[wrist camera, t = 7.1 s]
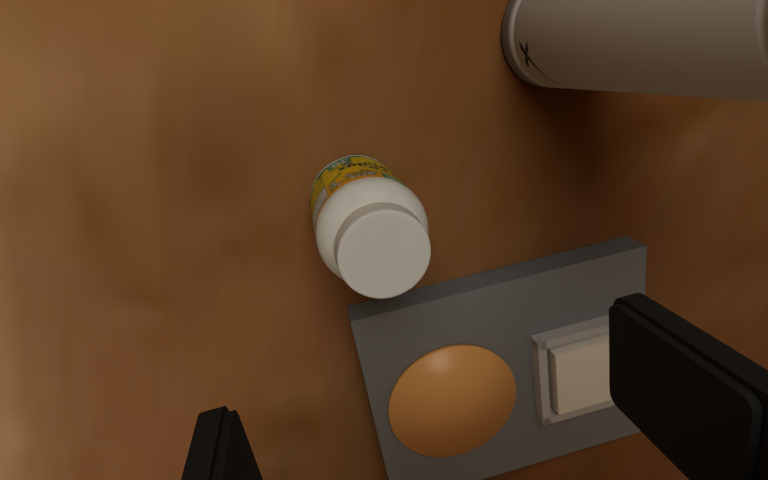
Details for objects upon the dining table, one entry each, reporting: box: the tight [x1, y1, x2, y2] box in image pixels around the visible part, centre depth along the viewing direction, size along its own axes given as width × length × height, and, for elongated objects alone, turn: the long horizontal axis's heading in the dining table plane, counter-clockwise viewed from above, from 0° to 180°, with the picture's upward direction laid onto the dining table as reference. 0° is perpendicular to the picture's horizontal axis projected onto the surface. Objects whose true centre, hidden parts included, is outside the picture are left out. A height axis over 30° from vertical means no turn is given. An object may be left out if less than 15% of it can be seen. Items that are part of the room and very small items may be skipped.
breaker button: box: [547, 332, 612, 415], centre depth 33 cm, size 5×5×3 cm
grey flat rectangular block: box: [347, 236, 647, 480], centre depth 33 cm, size 20×16×3 cm
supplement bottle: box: [310, 155, 431, 299], centre depth 24 cm, size 5×5×10 cm
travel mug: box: [501, 0, 768, 101], centre depth 18 cm, size 6×7×20 cm
